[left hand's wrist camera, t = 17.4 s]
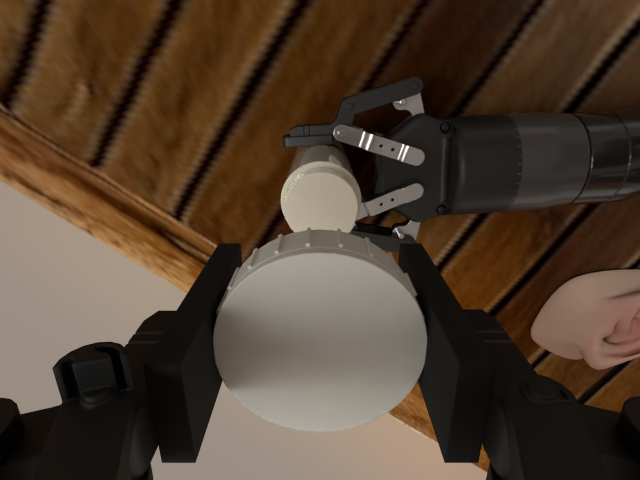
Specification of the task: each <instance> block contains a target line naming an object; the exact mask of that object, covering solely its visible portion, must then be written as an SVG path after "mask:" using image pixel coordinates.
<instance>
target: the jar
mask: <svg viewBox="0 0 640 480" xmlns="http://www.w3.org/2000/svg"><path fill="white" fill-rule="evenodd" d="M281 207H282V211H283V214H284V216H285V219H286V221H287V222H288V224H289V226H290V228H291V229H292V230H293V231H294V232H300V231H305V230H307V228H311V230H318V229H320V230H335V231H337V228H338V229H341V232H346V233H349V232H351V230H352V229H353V227H354V226H355V221H356V219H357V217H358V215H359V212H360V208H361V192H360V188H359V186H358V183H357V180H356V178H355V175H354V172H353V170H352V167H351V165H350V162H349V159H348V157H347V154H346V151H345V149H344V147H343V145H342V144H341V143H340V142H339V141H332V144H331V145H315V146H299V147H298V148H297V150H296V153H295V156H294V159H293V161H292V164H291V167H290V170H289V172H288V175H287V178H286V181H285V183H284V186H283V189H282V193H281Z"/></svg>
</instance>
